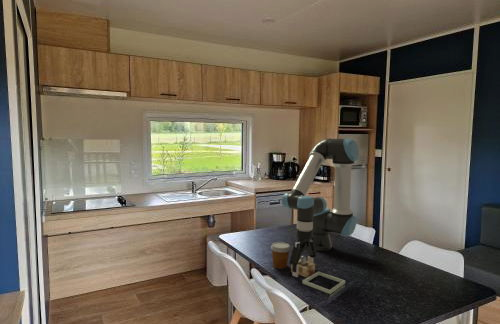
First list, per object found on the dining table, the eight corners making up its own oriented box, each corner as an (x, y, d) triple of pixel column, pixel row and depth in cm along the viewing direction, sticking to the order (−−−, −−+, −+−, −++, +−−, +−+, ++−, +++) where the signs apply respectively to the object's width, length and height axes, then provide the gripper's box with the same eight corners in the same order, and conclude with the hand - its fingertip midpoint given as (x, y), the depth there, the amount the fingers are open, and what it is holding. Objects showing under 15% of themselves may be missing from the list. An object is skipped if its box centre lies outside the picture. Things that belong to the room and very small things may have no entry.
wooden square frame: (300, 267, 155) (300, 259, 155) (316, 272, 149) (317, 264, 149) (291, 271, 150) (291, 263, 149) (307, 278, 143) (308, 269, 143)
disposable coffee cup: (274, 273, 151) (274, 249, 150) (267, 265, 160) (268, 242, 159) (292, 271, 153) (293, 247, 152) (285, 264, 162) (286, 241, 161)
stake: (300, 270, 155) (301, 252, 154) (313, 275, 150) (313, 256, 149) (292, 274, 150) (293, 256, 149) (305, 279, 145) (305, 260, 144)
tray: (318, 277, 148) (318, 271, 148) (345, 286, 139) (345, 280, 139) (302, 286, 138) (302, 280, 138) (330, 297, 129) (330, 291, 129)
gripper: (311, 222, 160) (309, 264, 161) (282, 232, 142) (280, 279, 143) (324, 226, 155) (322, 269, 156) (296, 236, 137) (294, 285, 138)
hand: (302, 274), depth 150 cm, fingers open, 12 cm apart
